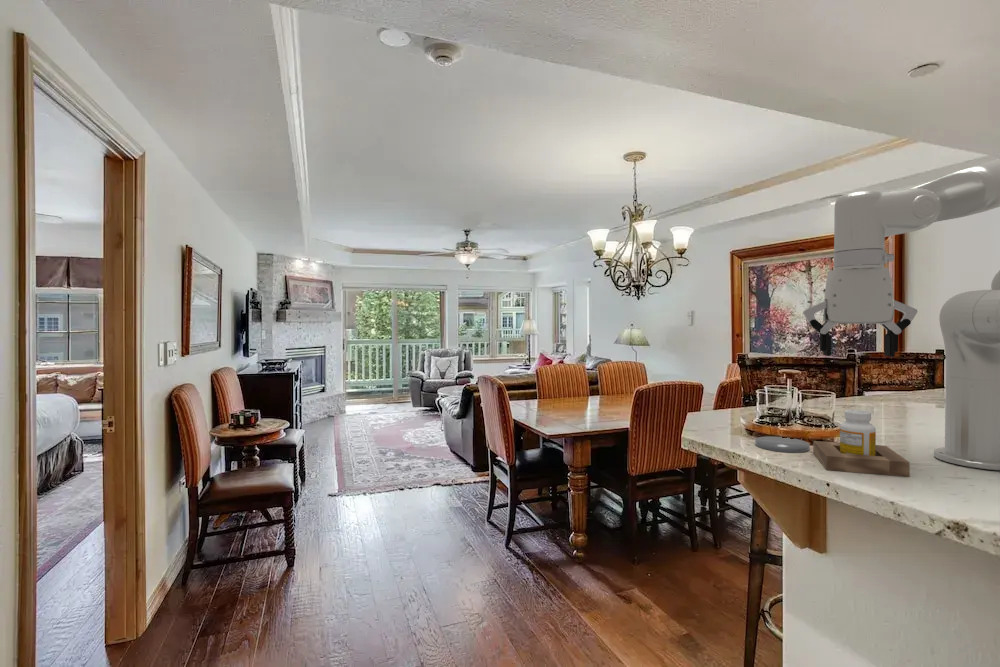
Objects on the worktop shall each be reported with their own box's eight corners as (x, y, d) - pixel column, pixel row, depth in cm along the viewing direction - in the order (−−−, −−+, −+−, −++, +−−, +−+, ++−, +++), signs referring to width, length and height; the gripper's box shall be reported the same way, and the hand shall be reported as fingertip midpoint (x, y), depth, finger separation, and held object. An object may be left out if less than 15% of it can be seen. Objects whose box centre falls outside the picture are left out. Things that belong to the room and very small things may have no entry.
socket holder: (885, 458, 98) (886, 445, 98) (909, 476, 87) (909, 462, 87) (813, 453, 102) (813, 440, 102) (826, 470, 91) (826, 455, 91)
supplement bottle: (864, 460, 97) (864, 409, 97) (882, 468, 92) (882, 414, 91) (833, 460, 98) (834, 409, 97) (850, 468, 92) (850, 414, 92)
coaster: (804, 443, 111) (804, 438, 111) (814, 454, 101) (814, 449, 101) (753, 439, 114) (753, 435, 114) (757, 450, 105) (757, 445, 105)
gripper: (909, 261, 94) (907, 355, 94) (800, 266, 100) (799, 353, 101) (925, 257, 87) (924, 358, 87) (807, 262, 93) (806, 356, 94)
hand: (857, 355), depth 94 cm, fingers open, 9 cm apart
